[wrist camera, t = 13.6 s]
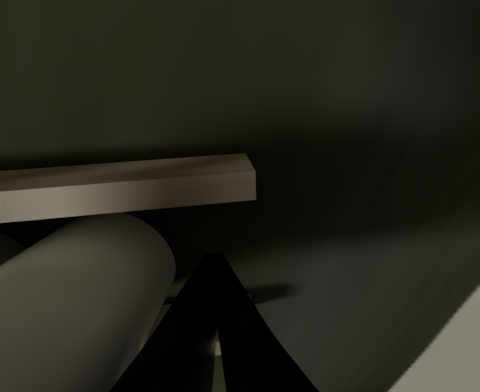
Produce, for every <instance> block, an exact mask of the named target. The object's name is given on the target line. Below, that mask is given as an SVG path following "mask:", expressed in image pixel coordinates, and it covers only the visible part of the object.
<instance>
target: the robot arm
mask: <svg viewBox="0 0 480 392" xmlns="http://www.w3.org/2000/svg"><path fill="white" fill-rule="evenodd" d="M217 330H218V337H219V344H220V351H221V358H222V365H223V372H224V378H225V385H226V392H319V391H318V390H317V388H316V387H315V386H314V385H313V384H312V382H311V381H310V380H309V379H308V378H307V376H306V375H305V374H304V373H303V371H302V370H301V369H300V368H299V366H298V365H297V364H296V363H295V361H294V360H293V359H292V358H291V357H290V355H289V354H288V353H287V352H286V350H285V349H284V348H283V346H282V345H281V344H280V343H279V341H278V340H277V339H276V337H275V336H274V335H273V333H272V332H271V330H270V329H269V327H268V326H267V324H266V323H265V321H264V319H263V318H262V316H261V315H260V313H259V312H258V310H257V308H256V307H255V305H254V303H253V302H252V300H251V299H250V297H249V295H248V294H247V292H246V290H245V289H244V287H243V286H242V284H241V282H240V281H239V279H238V278H237V276H236V274H235V273H234V271H233V269H232V268H231V266H230V265H229V263H228V261H227V260H226V258H225V257H224V255H223V253H222V252H217V253H207V254H205V255H204V256H203V257H202V259H201V260H200V262H199V263H198V265H197V267H196V268H195V270H194V271H193V273H192V274H191V276H190V277H189V279H188V280H187V282H186V283H185V285H184V286H183V288H182V289H181V291H180V292H179V294H178V295H177V297H176V298H175V300H174V301H173V303H172V304H171V306H170V307H169V309H168V310H167V312H166V313H165V315H164V316H163V318H162V319H161V321H160V323H159V325H157V327H156V328H155V330H154V331H153V333H152V334H151V336H150V337H149V339H148V340H147V342H146V343H145V345H144V346H143V347H142V349H141V350H140V352H139V353H138V354H137V356H136V357H135V358H134V359H133V361H132V362H131V363H130V365H129V366H128V367H127V368H126V370H125V371H124V372H123V374H122V375H121V376H120V377H119V379H118V380H117V381H116V382H115V384H114V385H113V386H112V387H111V389H110V390H109V391H108V392H212V385H213V373H214V361H215V349H216V337H217Z"/></svg>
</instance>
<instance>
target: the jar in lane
mask: <svg viewBox="0 0 480 392" xmlns="http://www.w3.org/2000/svg"><path fill="white" fill-rule="evenodd" d="M26 249H27V248H26V247H25V246H23V245H22V244H21V243H19V242H17V241H16V240H14V239H13V238H11V237H9V236H7V235H5V234H3V233H0V266H1V265H2V264H4V263H5V262H7V261H8V260H10V259H12V258H13V257H15V256H16V255H18V254H20V253H21V252H23V251H24V250H26Z"/></svg>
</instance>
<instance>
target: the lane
mask: <svg viewBox="0 0 480 392" xmlns="http://www.w3.org/2000/svg"><path fill="white" fill-rule="evenodd" d="M249 200H256V171H255V169H254V168H253V166H252V164H251V162H250V161H249V159H248V157H247V155H246V154H245V153H240V154H227V155H213V156H199V157H185V158H172V159H158V160H144V161H130V162H117V163H103V164H89V165H76V166H62V167H48V168H34V169H21V170H7V171H0V223H7V222H18V221H29V220H40V219H51V218H62V217H73V216H84V215H95V214H106V213H117V212H128V211H139V210H150V209H161V208H172V207H183V206H194V205H205V204H216V203H227V202H238V201H249ZM248 295H249V297H250V299H251V295H250V294H248ZM170 306H171V304H168V305H162V307H161V309H160V311H159V313H158V315H157V318H156V320H155V322H154V324H153V326H152V328H151V330H150V332H149V335H148V337H147V339H146V341H145V343H146V342H147V340H148V339H149V337H150V336H151V334H152V333H153V331H154V330H155V328H156V327H157V325H159V323H160V321H161V319H162V318H163V316H164V315H165V313H166V312H167V310H168V309H169V307H170ZM145 343H144V345H145ZM144 345H143V346H144ZM216 355H221V351H220V344H219V337H218V330H217V337H216V349H215V356H216Z"/></svg>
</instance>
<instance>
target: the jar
mask: <svg viewBox="0 0 480 392" xmlns="http://www.w3.org/2000/svg"><path fill="white" fill-rule="evenodd" d="M175 272H176V266H175V260H174V256H173V254H172V251H171V249H170V247H169V246H168V244H167V243H166V241H165V240H164V238H163V237H162V236H161V235H160V234H159V233H158V232H157V231H156V230H155V229H154V228H152V227H151V226H150V225H148V224H147V223H145V222H144V221H142V220H140V219H138V218H136V217H134V216H132V215H129V214H126V213H123V212H117V213H106V214H95V215H84V216H78V217H77V218H75V219H73V220H72V221H70V222H69V223H67V224H66V225H64V226H62V227H61V228H59V229H58V230H56V231H54V232H53V233H51V234H50V235H48V236H47V237H45V238H43V239H42V240H40V241H39V242H37V243H35V244H34V245H32V246H31V247H29V248H27V249H26V250H24V251H23V252H21V253H20V254H18V255H16V256H15V257H13V258H12V259H10V260H8V261H7V262H5V263H4V264H2V265H1V266H0V392H108V391H109V390H110V389H111V387H112V386H113V385H114V384H115V382H116V381H117V380H118V379H119V377H120V376H121V375H122V374H123V372H124V371H125V370H126V368H127V367H128V366H129V365H130V363H131V362H132V361H133V359H134V358H135V357H136V356H137V354H138V353H139V352H140V350H141V349H142V347H143V345H144V343H145V341H146V339H147V337H148V335H149V332H150V330H151V328H152V326H153V324H154V322H155V320H156V318H157V315H158V313H159V311H160V309H161V307H162V305H163V303H164V301H165V298H166V296H167V294H168V292H169V290H170V288H171V286H172V284H173V281H174V278H175Z"/></svg>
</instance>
